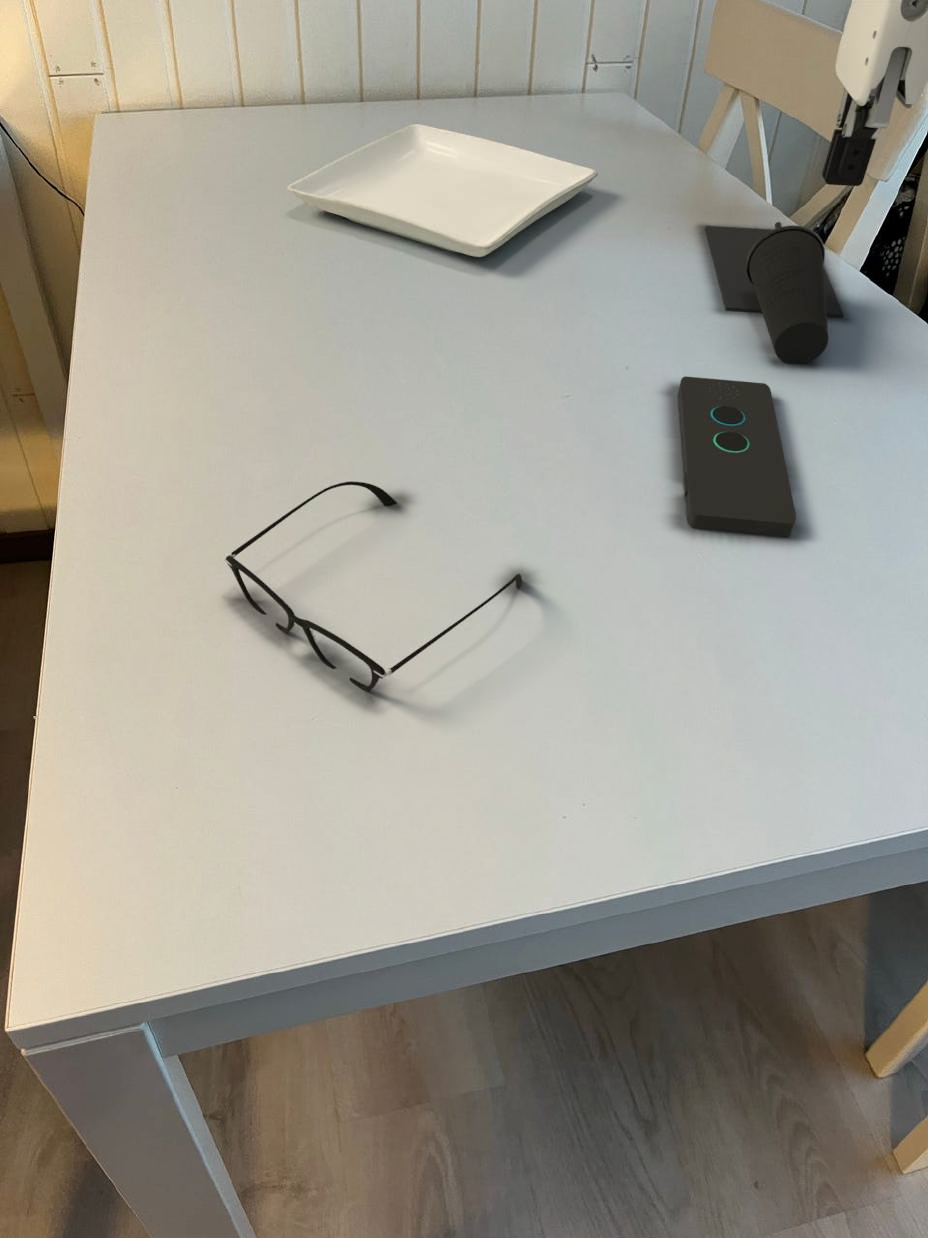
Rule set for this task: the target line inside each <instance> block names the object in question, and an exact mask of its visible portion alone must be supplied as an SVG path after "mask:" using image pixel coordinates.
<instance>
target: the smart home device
mask: <svg viewBox="0 0 928 1238" xmlns="http://www.w3.org/2000/svg"><path fill="white" fill-rule="evenodd" d="M677 403H678V417H679V430H680V431H679V432H680V443H681V444H680V445H681V458H682V459H681V460H682V471H683V491H684V499H685V508H686V509H685V510H686V520H687V524H688V526H689V527H691V528H692V529H695V530H705V531H716V532H724V533H733V534H734V533H736V534H746V535H756V536H766V537H776V538H785V539H786V538H789V537H790V536H791V534H792V531H793V528H794V526H795V522H796V521H797V513H796V509H795V504H794V499H793V494H792V489H791V485H790V480H789V474H788V469H787V464H786V459H785V454H784V449H783V444H782V440H781V434H780V429H779V424H778V420H777V415H776V411H775V405H774V400H773V395H772V389H771V388H770V387H769V385H768V384H767V383H764V382H752V381H743V380H730V379H720V378H709V377H695V376H683V377H682V378H681V380H680V382H679V388H678V392H677Z"/></svg>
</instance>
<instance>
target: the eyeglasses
mask: <svg viewBox="0 0 928 1238" xmlns="http://www.w3.org/2000/svg"><path fill="white" fill-rule="evenodd" d="M343 486H357V487H362V488H365V489H367V490H368V491H370V492H371V493H373V495H374V496H375V497H377V499H378V500H379V501H380V503H382V504H383V506H385V507H391V506H394V505H396V504H398V502H397V501H396V500H395V499H394V498H393V497H392V496H391V495H389V493H388V492H386V491H385V490H384V489H383V488H380V487H379V486H377V485H375V484H373V483H372V484H371V483H368V482H363V481H352V480H351V481H344V482H339V483H336V484H332V485H330V486H328V487H326V488H324V489H322V490H321V491H318V492H316V493H315V494H314V495H311V496H310V497H309V498H307V499H306V500H305V501H303V502H302V503H300V504H298V505H297V506H296V507H294V508H292V509H291V510H290V511H288V512H287V513H286V514H284V515H282V516H281V517H280V518H278V519H277V520H275V521H274V522H273V523H271V524H269V526H267V527H265V528H264V529H263V530H261V531H260V532H259V533H257V534H256V535H254V536H253V537H251V538H250V539H249V540H247V541H246V542H245V543H243V544H241V545H240V546H239V547H238V548H236V549H235V550H233V551H232V552H231V553H229V554H228V555H227V556H226V557H225V558H224V562H225V563H226V564H227V566H228V567H229V569H230V570H231V572H232V573H233V575H234V578H235V580H236V581H237V584H238V585H239V587H240V589H241V591H242V594H243V595H244V597H245V599H246V600H247V602H248V603H249V604H250V605H251V606H252V607H253V608H254V609H255V610H256V611H257V612H258V613H259V614H261V615H265V616H266V615H268V614H267V612H265V610H263V609H262V607H260V605H258V603H257V602H256V601H255V600H254V599H253V598H252V596H251V594H250V592H249V591H248V589H247V587H246V584H245V582H244V580H243V577H242V575H241V572H242V573H243V574H244V575H245V576H247V577H248V578H249V579H251V581H253V582H254V583H255V584H256V585H258V586H259V587H260V588H261V589H262V590H263V591H264V592H265V593H266V594H267V595H269V597H271V598H272V599H273V600H274V601H275V603H277V604H278V605H279V606H280V607H281V608H282V609H283V610H284V612H285V613H286V615H287V626H286V627H284V626H282V625H281V624H280V623H278V622H275V627H276V628H277V629H278V630H279V631H281V632H282V633H285V634H287V633H289V632H290V631H292V630H293V628H299V627H301V628H302V631H303V632H304V635H305V637H306V638H307V640H308V642H309V644H310V646H311V648H312V649H313V651H314V653H315V654H316V656H317V657H318V658H319V660H320V661H321V662H322V663H323V664H324V665H325V666H327V667H328V668H330V669H332V670H336V669H338V667H336V666H335V665H334V664H333V663H332V662H331V661H329V659H327V658H326V656H325V655H324V654H323V652H322V650H321V649H320V647H319V645H318V644H317V642H316V635H315V634H314V631H316V632H317V633H318V634H321V635H323V636H324V637H326V638H328V639H329V640H331V641H333V642H335V643H336V644H338V645H340V647H342V648H344V649H345V650H346V651H348V652H349V653H351V654H352V655H354V656H355V657H357V658H358V659H359V660H361V661H362V662H363V663H365V664H366V665H367V666H368V667H369V669H370V674H371V681H370V683H369V685H366V684H364V683H362V682H360V681H358V680H357V679H355V678H353V677H351V676H349V682H351V683H352V684H353V685H355V686H356V687H357V688H359V689H361V690H363V691H366V692H371V691H372V690H373V689H374V688H375V687H376V685H377V684H378V683H379V680H380V679H381V680H383V679H384V678H386V677H388V676H391V675H392V674H393V673H395V672H396V671H397V670H399V669H400V668H402V667H403V666H404V665H405V664H407V663H409V662H410V661H411V660H413V659H414V658H415V657H417V656H418V655H419V654H420V653H422V652H423V651H425V650H426V649H428V648H429V647H430V646H431V645H433V644H434V643H436V642H437V641H438V640H439V639H441V638H442V637H444V636H445V635H446V634H448V633H449V632H450V631H452V630H454V628H456V627H457V626H459V625H460V624H461V623H463V622H464V621H465V620H466V619H468V618H469V617H470V616H472V615H473V614H475V613H476V612H477V611H479V610H480V609H482V608H483V607H484V606H485V605H487V604H488V603H490V601H492V600H493V599H495V598H496V597H497V596H499V595H500V594H501V593H502V592H503V591H505V590H506V589H507V588H509V587H510V586H511V585H512V584H513V583H515V588H516V589H519V588H521V586H522V584H523V579H522V575H521V573H517V574H515V576H513V577H512V578H511V579H510V580H509V581H507V583H506V584H505V585H503V586H502V587H501V588H500V589H499V590H498V591H496V592H495V593H493V595H491V596H489V597H488V598H487V599H486V600H484V601H483V602H481V603H480V604H478V606H476V607H475V608H474V609H472V610H471V611H469V612H467V614H465V615H464V616H462V617H461V618H459V619H458V620H456V621H455V622H454V623H453V624H451V625H450V626H448V627H447V628H445V629H444V630H443V631H441V632H440V633H439V634H437V635H436V636H434V637H433V638H432V639H430V640H429V641H427V642H426V643H424V644H423V645H422V646H420V647H419V648H417V649H416V650H414V651H413V652H412V653H410V654H409V655H407V656H406V657H404V658H403V659H402V660H400V661H399V662H397V663H396V664H395V665H393V666H392V667H391V668H389V667H388V668H387V671H386V670H385V668H384V667H383V666H381V665H380V664H379V663H377V662H376V661H375V660H373V659H372V658H371V657H369V656H368V655H366V654H365V653H364V652H362V651H361V650H359V649H358V648H356V647H355V646H353V645H352V644H350V643H349V642H347V641H346V640H344V639H343V638H342V637H340V636H338V635H336V634H334V633H333V632H331V631H329V630H327V629H326V628H324V627H322V626H320V625H318V624H316V623H315V622H313V621H310V620H308V619H304V618H300V617H299V616H296V614H295V612H294V610H293V609H292V607H290V606H289V605H288V603H287V602H285V600H283V599H282V598H281V597H280V596H279V595H278V594H277V593H276V592H275V591H274V590H272V589H271V587H269V585H267V584H266V582H264V581H263V580H262V579H260V578H259V577H258V576H257V575H256V574H255V573H254V572H253V571H251V570H250V569H248V568H247V567H246V566H244V565H243V564H242V563H241V562H240V561H238V560H237V559H236V556H238V555H239V554H240V553H242V552H243V551H244V550H246V549H247V548H248V547H250V546H251V545H253V544H254V543H255V542H256V541H258V540H259V539H261V538H262V537H263V536H264V535H265V534H267V533H268V532H270V531H271V530H272V529H274V528H275V527H276V526H278V525H279V524H280V523H282V522H283V521H285V520H286V519H287V518H289V517H290V516H291V515H293V514H294V513H295V512H297V511H298V510H300V509H301V508H302V507H304V506H305V505H307V504H308V503H310V502H311V501H313V500H314V499H316V498H317V497H318V496H320V495H322V494H324V493H326V492H327V491H329V490H332V489H335V488H340V487H343ZM240 571H241V572H240Z"/></svg>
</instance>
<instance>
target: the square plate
mask: <svg viewBox="0 0 928 1238" xmlns="http://www.w3.org/2000/svg"><path fill="white" fill-rule="evenodd" d="M598 175H599V173H598V171H597V170H595V169H594V168H589V167H586V166H581V165H579V164H575V163H571V162H568V161H564V160H561V159H558V158H554V157H551V156H547V155H544V154H541V153H537V152H534V151H530V150H527V149H523V148H520V147H516V146H513V145H509V144H506V143H501V142H498V141H494V140H490V139H486V138H483V137H479V136H473V135H469V134H466V133H460V132H456V131H452V130H447V129H442V128H438V127H433V126H429V125H425V124H421V123H413V124H410V125H408V126H406V127H404V128H401V129H399V130H397V131H395V132H392V133H389V134H388V135H386V136H384V137H381V138H379V139H377V140H375V141H373V142H370V143H368V144H366V145H364V146H362V147H360V148H358V149H355V150H354V151H351V152H350V153H348V154H346V155H344V156H341V157H340V158H338V159H336V160H334V161H332V162H330V163H328V164H327V165H325V166H322V167H321V168H318V169H317V170H315V171H313V172H311V173H309V174H307V175H306V176H304V177H302V178H299V179H298V180H296V181H294V182H292V183H291V184H289V185H288V186H286V189H287V190H288V191H289V192H291V193H292V194H294V196H296V197H297V199H300V200H301V202H304V203H305V204H306V205H309V206H310V207H314V208H316V209H318V210H321V211H324V212H327V213H330V214H334V215H338V216H340V217H344V218H345V219H347V220H349V221H351V222H353V223H356V224H359V225H363V226H366V227H370V228H373V229H376V230H379V231H383V232H386V233H389V234H393V235H396V236H399V237H403V238H405V239H409V240H412V241H416V242H417V243H418V242H419V243H422V244H425V245H428V246H431V247H435V248H436V249H437V248H438V249H441V250H444V251H448V252H453V253H460V254H464V255H467V256H470V257H471V256H472V257H475V258H482V257H485V256H487V255H488V254H490V253H492V252H494V251H495V250H496V249H498V248H499V247H501V246H502V245H504V244H505V243H507V241H509V240H511V239H512V238H513V237H514V236H516V235H517V234H519V233H520V232H521V231H523V230H525V229H526V228H527V227H529V226H530V225H531V224H533V223H534V222H536V221H538V220H539V219H541V218H543V217H544V216H545V215H547V214H548V213H551V212H552V211H553V210H555V209H557V208H558V207H560V206H562V205H563V204H565V203H566V202H568V201H570V199H572V198H574V197H575V196H576V195H577V194H579V193H580V192H581V191H582V190H584V189H585V188H586V187H587V186H588V185H589V184H590V183H591V182H593V180H594V179H595V178H597V177H598Z"/></svg>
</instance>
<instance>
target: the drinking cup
mask: <svg viewBox="0 0 928 1238" xmlns="http://www.w3.org/2000/svg"><path fill="white" fill-rule="evenodd" d="M771 230H772V231H770V232H768V233H767V234H765V235H764V236H762V237H761V238H760V239H759V240H758V241H757V242H756V243H755V244H754V246H753V247H752V249H751V250H750V252H749V254H748V257H747V262H746V271H747V275H748V278H749V280H750V282H751V283H752V284H753V285H754V288H755V291H756V295H757V298H758V301H759V304H760V307H761V310H762V313H761V314H762V315H763V320H764V322H765V326H766V328H767V329H766V330H767V332H768V335H769V338H770V341H771V344H772V347H773V350H774V353H775V355H776V357H777V358H778V359H779V360H780V361H781V362H783V363H785V364H795V365H803V364H808V363H810V362H813V361H814V360H816V359H817V358H819V357H820V356H822V354H823V353H824V351H826V349H827V347H828V344H829V329H828V327H829V326H828V317H827V313H826V299H825V285H824V271H823V268H824V262H825V257H826V250H825V245H824V242H823V240H822V239H821V237H820V236H819V235H818V234H817V233H816V232H815V231H813V229H810V228H808V227H806V226H802V225H784V226H783V225H782V223H781V222H780V221H777V222H776V223H774V229H771Z"/></svg>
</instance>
